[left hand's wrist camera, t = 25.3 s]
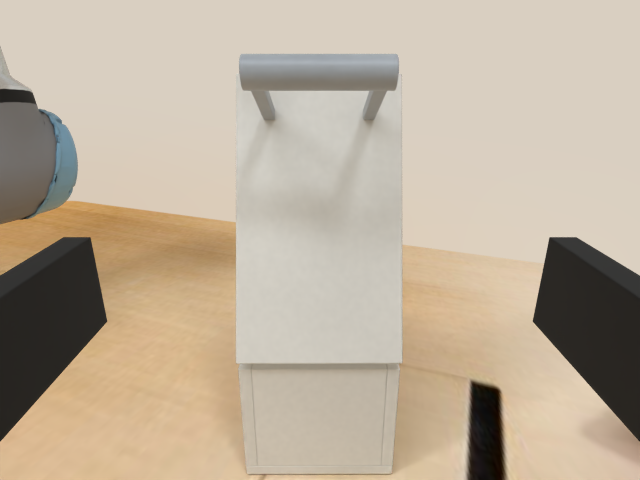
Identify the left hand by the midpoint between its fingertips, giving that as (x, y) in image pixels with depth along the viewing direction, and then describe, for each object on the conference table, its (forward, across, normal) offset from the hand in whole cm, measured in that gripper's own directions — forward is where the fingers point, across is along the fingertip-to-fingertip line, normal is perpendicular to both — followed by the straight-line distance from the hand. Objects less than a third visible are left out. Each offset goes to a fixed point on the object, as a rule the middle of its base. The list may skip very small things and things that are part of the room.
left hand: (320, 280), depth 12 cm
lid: (+14, 0, -3) cm, 14 cm away
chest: (+19, 0, -20) cm, 27 cm away
